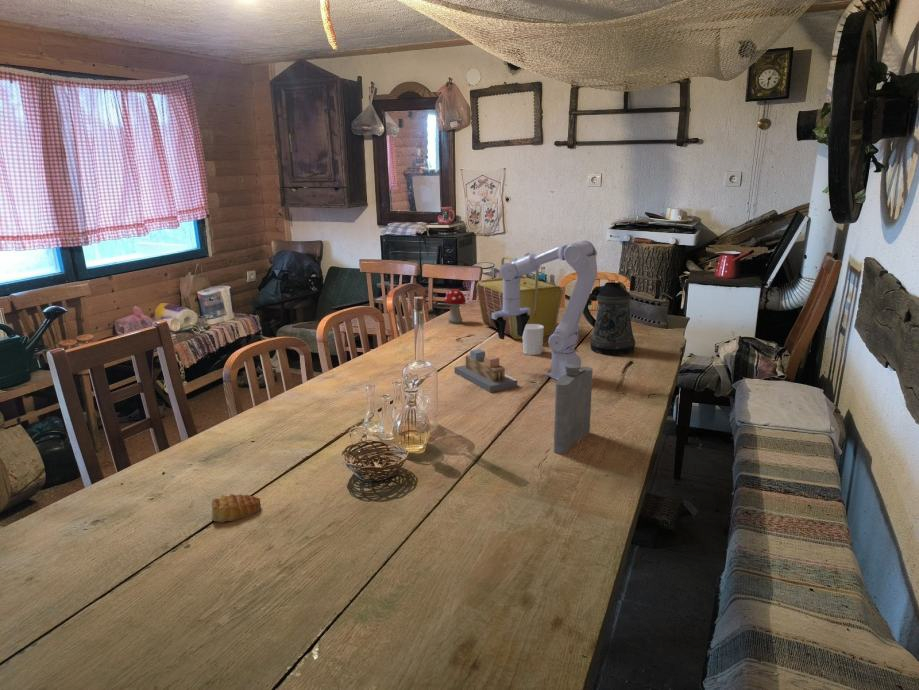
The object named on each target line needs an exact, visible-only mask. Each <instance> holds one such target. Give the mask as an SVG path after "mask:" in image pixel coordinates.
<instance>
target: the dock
mask: <svg viewBox="0 0 919 690" xmlns="http://www.w3.org/2000/svg"><path fill="white" fill-rule="evenodd" d="M454 374H456V375H457V374H458V375H457V376H459V375H460V376H459V377H462V378H463V379H465V380H467V381H468V380H469V382H470V383H472V384H474V385H476V386H478V387H479V386H480V388H481V389H483V390H485V391H487V392H489V393H493V391H494V392H499V391H502V390H508V389H511V388H516V387H518V379H516V378H514V377H512V376H511V375H507V374H506V373H505V380H501V381H497V382H493V381H491V380H489V379H487V378H485V377H483V376H481V375H479V374H477V373H475V372H473V371H471V370H469V369H467V368H466V364H464V365H459V366H454ZM498 390H499V391H498Z"/></svg>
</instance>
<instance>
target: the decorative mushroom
mask: <svg viewBox="0 0 919 690" xmlns="http://www.w3.org/2000/svg"><path fill="white" fill-rule="evenodd" d="M443 302H444V303H445V304H448V305H450V308H449V309H450V310H449V315H448V318H447V321H448V323H449V324H453V325H461V324H462V323H463V317H462V315H461V309H460V305H463V304H465V303H466V302H467V301H466V297H465V296H464V294H463V292H462V291H461V290H459V289H456V288H453V289H450V290H448V291H447V292H446V294H445V296H444V299H443Z"/></svg>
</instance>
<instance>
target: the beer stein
mask: <svg viewBox="0 0 919 690" xmlns="http://www.w3.org/2000/svg"><path fill="white" fill-rule="evenodd" d="M620 284H621V283H620V282H615V281H614V282H611V281H609V282H605V284H604V285H601V286H600V285H599V286H594V287H593V288H592V290H591V293H590V295H589V298H588V300H587V303H586V305H585V308H584V310H583V313H582V315H583V316H584V318H585V320H587V322H588V323H589V325H590V326H592V327H593V332H592V335H591V337H590V339H589V344H590V349H591V351H592V352H594V353H596V354H599V355H604V356H612V357H613V356H618V357H619V356H622V357H623V356H628V355H630V353H631V354H633V353H634V350H635V347H636V340H635V339H636V338H635V336H634V333H633V328H632V322H631V320H632V319H631V311H630V310H631V309H630V302H631V300H632V295H631V293H630V292H628V290H626V289H625V288H623V287H622V285H620ZM596 301H597V302H598V305H597V311H596V312H597V313H596V317H594V316H593V315H592V314H591V311H590V310H589V304H590V303H591V302H596Z"/></svg>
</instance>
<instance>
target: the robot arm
mask: <svg viewBox="0 0 919 690" xmlns="http://www.w3.org/2000/svg"><path fill="white" fill-rule="evenodd" d="M597 256H598V252H597V250H596V247H595V246H594V244H593V243H592V242H591V241H589V240H582V241H578V242H574V243H569V244H564V245H559V246H557V247H553V248H552V249H550V250H549V249H548V250H547V251H544V252H543V253H541V254H535V253H531V252H526V253H525V254H523V256H522V257H519V258H517V257H515V258H512V259H513V262H510V261H508V262H504V264H503V265H502V266H501V265H500V268H499V276H500V278H501V277H502V278H503V310H501V311H497V312H494V313H492V320H493V322H494V324H495V326H496V328H497V329H496V331H497V333H498V335H497V336H498V338H499V340H505V334H506V333H505V325H506V322H507V321H506V320H504V319H503V318H504V317H511V316H516V320H517V334H518V335H519V336H523V332H524V329H525V326H526V324H527V322H528V320H529V319H530V316H529V315H527V314H530V308H520V279H521V276H526V275H528V274H531V273H532V274H533V273H535V271H537V270H539V271H540V268H541V267H542V265H543V264H546V263H550V262H553V261H556V260H558V259H559V260H560V261H565V262H566V263H567V264H568V265H569V266H570V267H571V268H572V269H573V270H574V271H575V273H576V275H577V278H576V282H575V284H574V287H573V290H572V293H571V295H570V296H569V297H570V298H569V300H568V302H567V305H566V308H565V310H564V313H563V316H562V318H561V321H560V322H559V323H558V324H557V325H556V328H555V330H554V331H553V333H551V334H550V335H549V338H548V346H549V348H550V349H551V365H550V366H551V368H550V369H551V372H546V373H545V376H547V377H550V378H552V379H554V380H556V381H558V380H559V379H560V378H561V377H562V376H564V375H565V374H566V369H565V365H566V364H571V363H573V364H578V365H580V367H582V360H581V357H580V356H579V354H577V353H576V351H575V345H576V344H578V341H579V331H580V327H579V322H580V321H581V318H582V315H583V310H584V308H585V305H586V303H587V300H588V298H589V295H590V293H592V290H593V289H594V286H595V282H596V280H597V278H598V266H597Z"/></svg>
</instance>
